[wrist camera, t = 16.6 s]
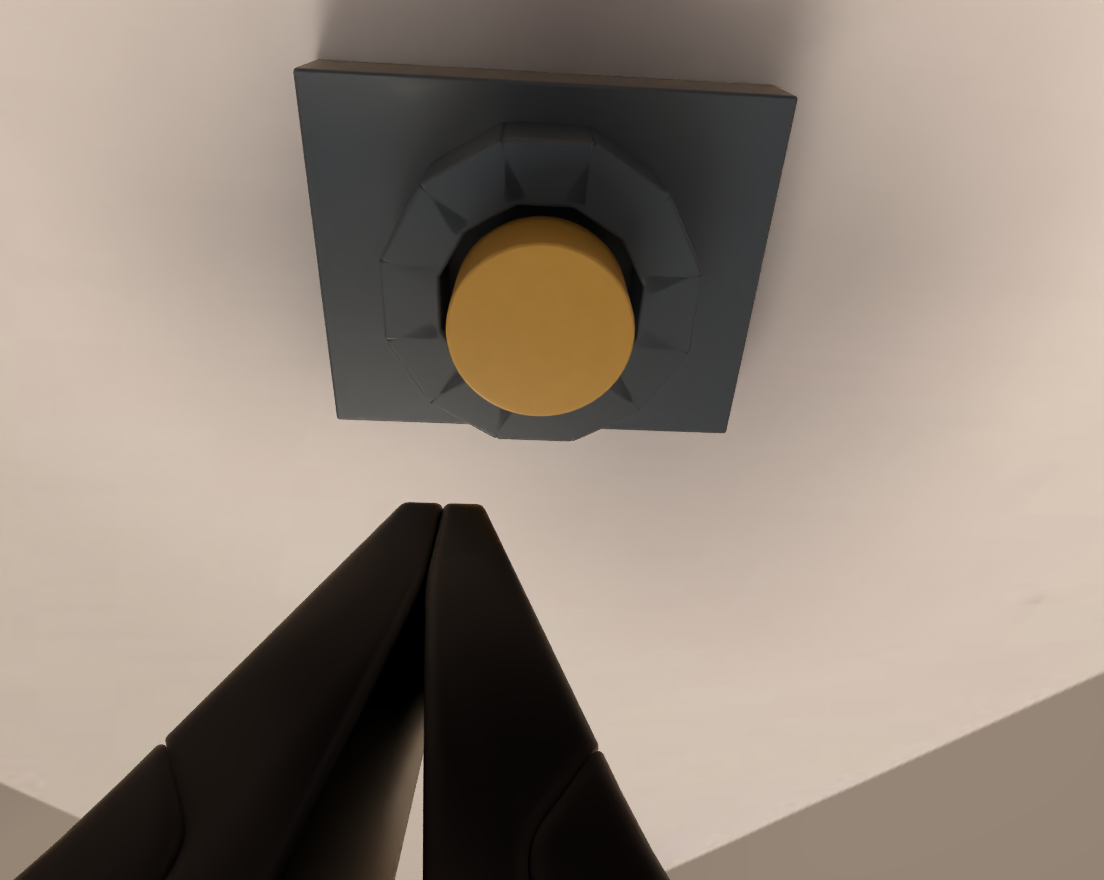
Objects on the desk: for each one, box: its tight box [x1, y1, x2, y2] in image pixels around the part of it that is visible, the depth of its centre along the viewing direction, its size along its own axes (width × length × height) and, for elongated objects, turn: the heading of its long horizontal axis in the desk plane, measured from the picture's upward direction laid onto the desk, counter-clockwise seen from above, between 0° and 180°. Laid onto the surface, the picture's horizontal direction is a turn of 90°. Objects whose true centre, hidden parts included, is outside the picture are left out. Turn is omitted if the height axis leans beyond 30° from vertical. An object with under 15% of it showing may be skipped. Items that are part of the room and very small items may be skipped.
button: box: [446, 216, 635, 416], centre depth 14 cm, size 4×4×2 cm
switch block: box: [293, 60, 797, 441], centre depth 16 cm, size 10×8×4 cm
